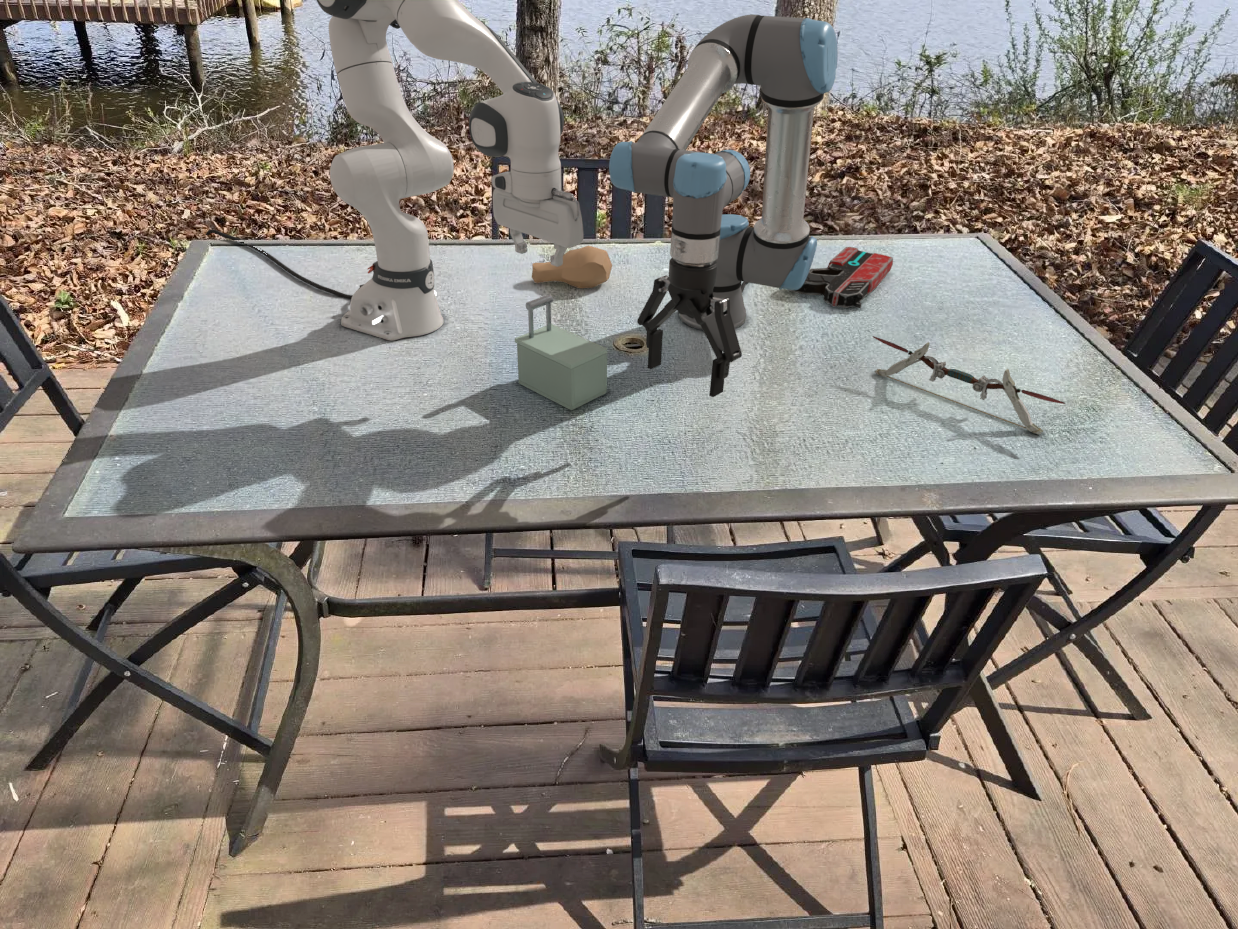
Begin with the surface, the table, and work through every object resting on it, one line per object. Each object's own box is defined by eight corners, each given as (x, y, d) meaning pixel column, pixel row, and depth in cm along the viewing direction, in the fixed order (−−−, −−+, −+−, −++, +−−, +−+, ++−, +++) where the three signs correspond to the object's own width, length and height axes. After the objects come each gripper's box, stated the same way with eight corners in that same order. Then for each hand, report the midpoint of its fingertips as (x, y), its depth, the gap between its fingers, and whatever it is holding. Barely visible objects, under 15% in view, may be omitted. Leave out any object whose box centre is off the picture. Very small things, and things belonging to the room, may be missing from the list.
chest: (518, 383, 174) (516, 343, 169) (554, 367, 180) (553, 328, 175) (571, 410, 165) (571, 369, 161) (606, 393, 171) (607, 352, 167)
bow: (1055, 436, 162) (1072, 389, 156) (1051, 440, 160) (1068, 392, 155) (868, 367, 183) (877, 323, 177) (863, 370, 182) (872, 326, 176)
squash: (613, 292, 213) (609, 260, 207) (532, 299, 215) (526, 267, 209) (614, 269, 221) (610, 237, 215) (536, 276, 223) (529, 244, 217)
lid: (514, 342, 169) (512, 302, 165) (551, 327, 175) (550, 288, 171) (571, 369, 161) (570, 327, 156) (607, 352, 167) (608, 312, 162)
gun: (782, 277, 212) (859, 296, 204) (826, 238, 234) (898, 255, 226) (779, 294, 214) (856, 314, 207) (823, 255, 236) (894, 271, 229)
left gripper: (591, 191, 151) (591, 268, 159) (511, 168, 162) (514, 241, 170) (565, 199, 147) (566, 277, 155) (485, 175, 158) (489, 249, 166)
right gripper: (618, 244, 141) (615, 362, 153) (743, 287, 127) (729, 414, 139) (649, 233, 146) (644, 349, 157) (773, 274, 132) (757, 398, 143)
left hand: (538, 258), depth 163 cm, fingers open, 8 cm apart
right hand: (684, 379), depth 148 cm, fingers open, 13 cm apart
